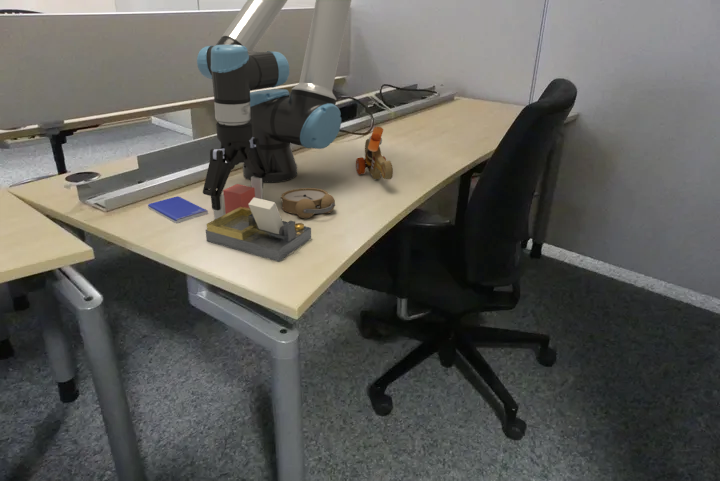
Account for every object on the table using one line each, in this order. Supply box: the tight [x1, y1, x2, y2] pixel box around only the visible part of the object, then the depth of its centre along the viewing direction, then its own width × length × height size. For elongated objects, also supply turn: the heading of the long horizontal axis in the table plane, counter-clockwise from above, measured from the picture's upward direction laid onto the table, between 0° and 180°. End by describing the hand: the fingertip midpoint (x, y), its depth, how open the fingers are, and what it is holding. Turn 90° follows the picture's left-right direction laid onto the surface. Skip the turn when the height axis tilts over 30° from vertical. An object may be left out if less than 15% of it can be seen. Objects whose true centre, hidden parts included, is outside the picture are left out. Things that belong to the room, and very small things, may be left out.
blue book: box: [147, 196, 209, 225], centre depth 121 cm, size 2×8×12 cm
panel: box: [205, 207, 312, 262], centre depth 108 cm, size 12×18×6 cm, turn 63°
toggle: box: [248, 198, 284, 236], centre depth 103 cm, size 2×6×8 cm, turn 63°
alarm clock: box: [280, 187, 336, 219], centre depth 124 cm, size 11×5×15 cm
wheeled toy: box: [355, 126, 394, 180], centre depth 142 cm, size 8×21×14 cm, turn 15°
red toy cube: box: [222, 183, 255, 214], centre depth 120 cm, size 5×5×6 cm
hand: (239, 212), depth 121 cm, fingers open, 13 cm apart
